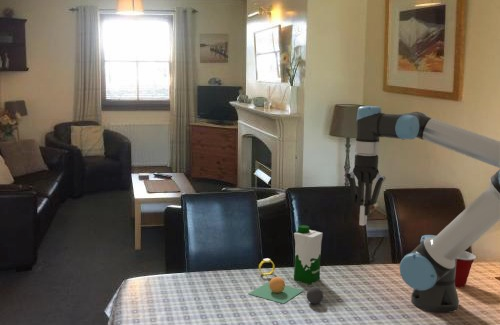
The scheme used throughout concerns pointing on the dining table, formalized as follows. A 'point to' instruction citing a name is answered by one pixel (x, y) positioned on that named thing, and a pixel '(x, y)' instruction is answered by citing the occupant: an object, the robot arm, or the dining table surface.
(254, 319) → the dining table surface
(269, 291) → the green mark
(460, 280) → the plastic cup
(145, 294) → the dining table surface
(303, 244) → the milk carton
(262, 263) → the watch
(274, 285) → the ball orange
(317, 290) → the cue ball black
